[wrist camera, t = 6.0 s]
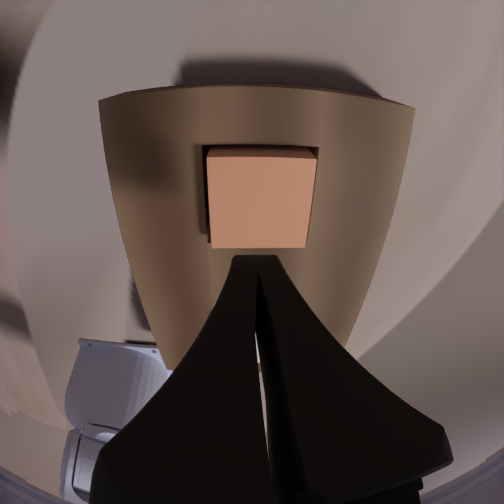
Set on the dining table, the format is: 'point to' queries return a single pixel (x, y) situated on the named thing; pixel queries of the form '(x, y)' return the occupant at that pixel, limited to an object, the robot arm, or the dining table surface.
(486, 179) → the dining table surface
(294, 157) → the salmon orange square block
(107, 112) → the key panel
